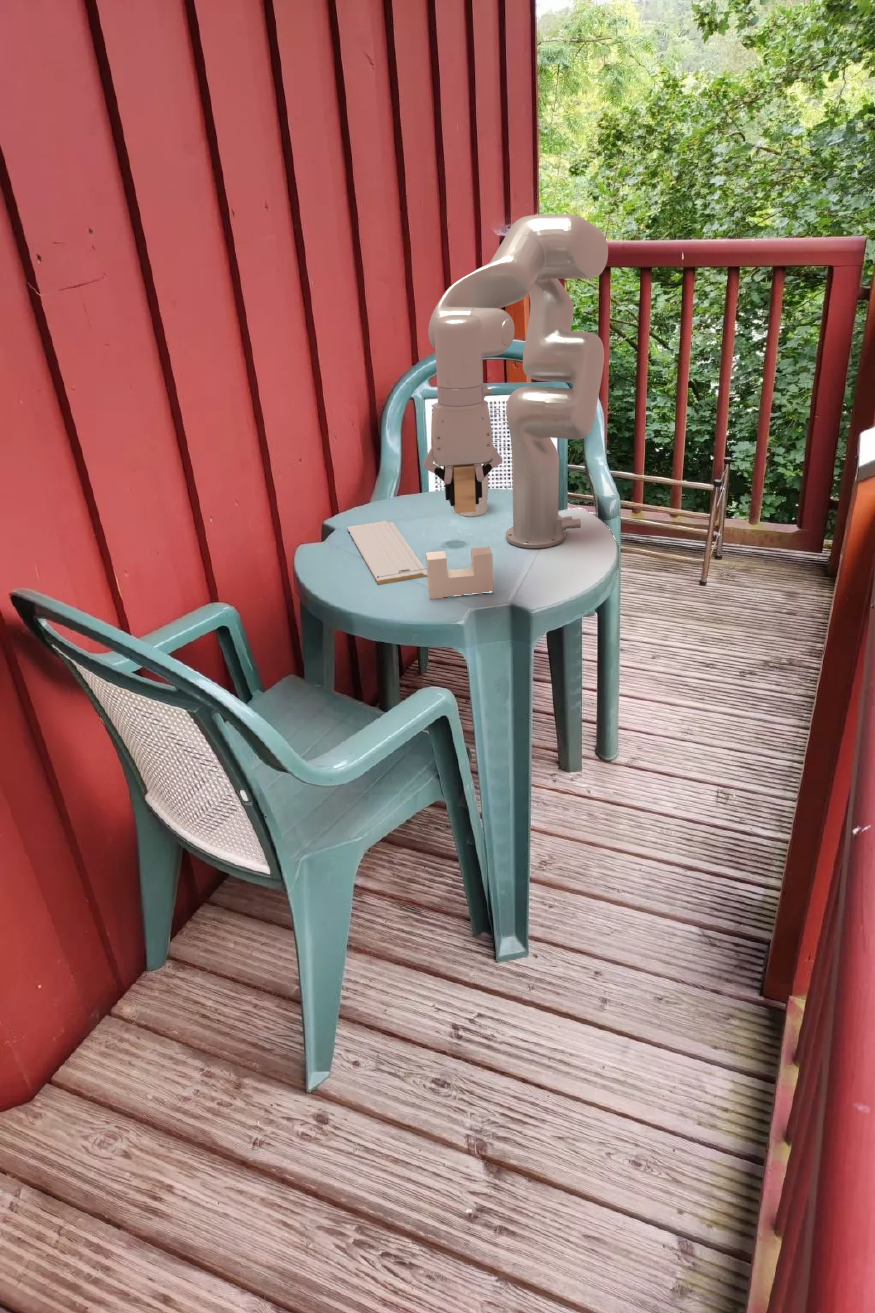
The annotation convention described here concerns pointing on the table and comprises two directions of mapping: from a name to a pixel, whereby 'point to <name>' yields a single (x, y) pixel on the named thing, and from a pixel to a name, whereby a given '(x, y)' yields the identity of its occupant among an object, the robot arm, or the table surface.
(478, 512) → the white cup
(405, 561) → the baseboard molding
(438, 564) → the cream upright board
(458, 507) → the oak slotted board
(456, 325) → the robot arm
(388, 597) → the table surface
